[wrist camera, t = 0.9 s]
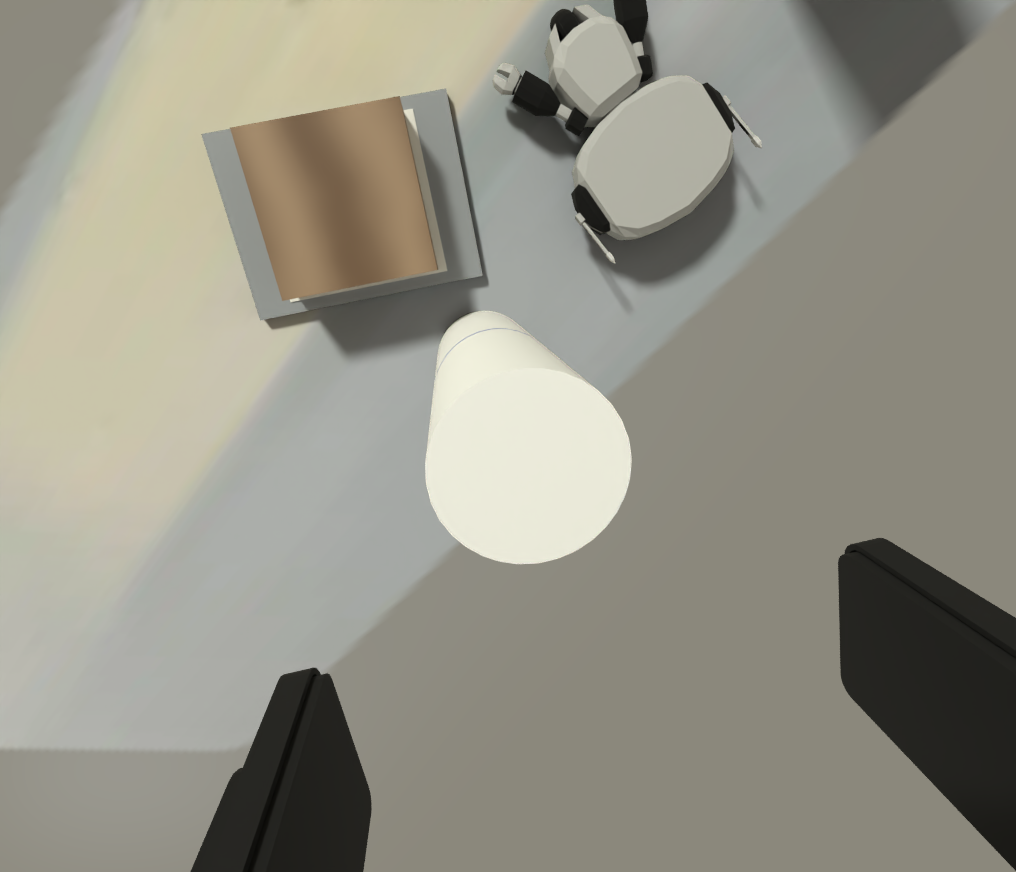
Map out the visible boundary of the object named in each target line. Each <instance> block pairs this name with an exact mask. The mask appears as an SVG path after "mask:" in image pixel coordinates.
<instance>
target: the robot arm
mask: <svg viewBox="0 0 1016 872" xmlns="http://www.w3.org/2000/svg"><path fill="white" fill-rule="evenodd" d="M838 571H839V617H840V661H841V662H840V664H841V679H842V682H843V685H844V687H845V689H846V691H847V692H848V694H849V695H850V697H851V698H852V699H853V700H854V701H855V702H856V703H857V704H858V705H859V706H860V707H861V708H862V709H863V711H865V713H866V714H867V715H868V716H869V717H870V718H871V719H872V720H873V721H874V722H875V723H876V724H877V725H878V726H879V727H880V728H881V730H882V731H883V732H884V733H885V734H887V736H888V737H889V738H890V739H891V740H892V741H893V742H894V743H895V744H896V745H897V746H898V747H899V748H900V749H901V751H902V752H903V753H904V754H905V755H906V756H907V757H908V758H909V759H910V760H911V761H912V762H913V763H914V764H915V765H916V766H917V767H918V768H919V769H920V770H921V771H922V773H923V774H924V775H925V776H926V777H927V778H928V779H929V780H930V781H931V782H932V783H933V784H934V785H935V786H936V787H937V788H938V789H939V791H940V792H941V793H942V794H943V795H944V796H945V797H946V798H947V799H948V800H949V801H950V802H951V803H952V804H953V805H954V806H955V807H956V808H957V809H958V811H960V812H961V814H962V815H963V816H964V817H965V818H966V819H967V820H968V821H969V822H970V823H971V824H972V825H973V826H974V827H975V828H976V829H977V831H979V833H980V834H981V835H982V836H983V837H984V838H985V839H986V840H987V841H988V842H989V843H990V844H991V845H992V846H993V847H994V848H995V849H996V851H998V853H1000V855H1001V856H1002V857H1003V858H1004V859H1005V860H1006V861H1007V862H1008V863H1009V864H1010V865H1011V866H1012V867H1013V868H1014V869H1015V870H1016V618H1015V617H1013V616H1012V615H1010V614H1008V613H1007V612H1005V611H1003V610H1002V609H1000V608H998V607H997V606H995V605H993V604H992V603H990V602H989V601H987V600H985V599H984V598H982V597H980V596H979V595H977V594H975V593H974V592H972V591H970V590H969V589H967V588H966V587H964V586H962V585H960V584H959V583H957V582H956V581H954V580H952V579H951V578H949V577H947V576H946V575H944V574H942V573H941V572H939V571H938V570H936V569H934V568H933V567H931V566H929V565H928V564H926V563H924V562H923V561H921V560H920V559H918V558H916V557H915V556H913V555H911V554H910V553H908V552H906V551H905V550H903V549H901V548H900V547H898V546H897V545H895V544H893V543H892V542H890V541H888V540H886V539H884V538H876V539H872V540H868V541H863V542H859V543H855V544H851V545H849V546H847V548H846V550H845V554H844V555H842V556H840V558H839V562H838ZM370 818H371V795H370V790H369V787H368V784H367V781H366V778H365V775H364V772H363V769H362V766H361V763H360V760H359V757H358V754H357V751H356V749H355V745H354V743H353V740H352V737H351V734H350V731H349V728H348V725H347V722H346V719H345V716H344V713H343V710H342V707H341V704H340V701H339V698H338V696H337V692H336V690H335V687H334V684H333V681H332V678H331V676H330V675H329V674H323V675H321V674H320V672H319V671H318V669H317V668H310V669H306V670H301V671H297V672H293V673H288V674H284V675H282V676H281V677H280V679H279V680H278V683H277V685H276V688H275V690H274V693H273V695H272V697H271V700H270V702H269V705H268V707H267V710H266V712H265V715H264V717H263V720H262V722H261V724H260V727H259V729H258V732H257V734H256V737H255V739H254V742H253V744H252V746H251V749H250V751H249V754H248V756H247V759H246V761H245V764H244V766H243V768H240V769H238V770H237V771H236V772H235V773H234V774H233V775H232V777H231V779H230V781H229V783H228V785H227V787H226V789H225V792H224V794H223V797H222V799H221V801H220V804H219V806H218V808H217V811H216V813H215V815H214V818H213V820H212V822H211V825H210V827H209V830H208V832H207V834H206V837H205V839H204V842H203V844H202V846H201V848H200V851H199V853H198V855H197V858H196V860H195V863H194V865H193V867H192V870H191V872H363V869H364V862H365V854H366V847H367V839H368V833H369V825H370Z"/></svg>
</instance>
